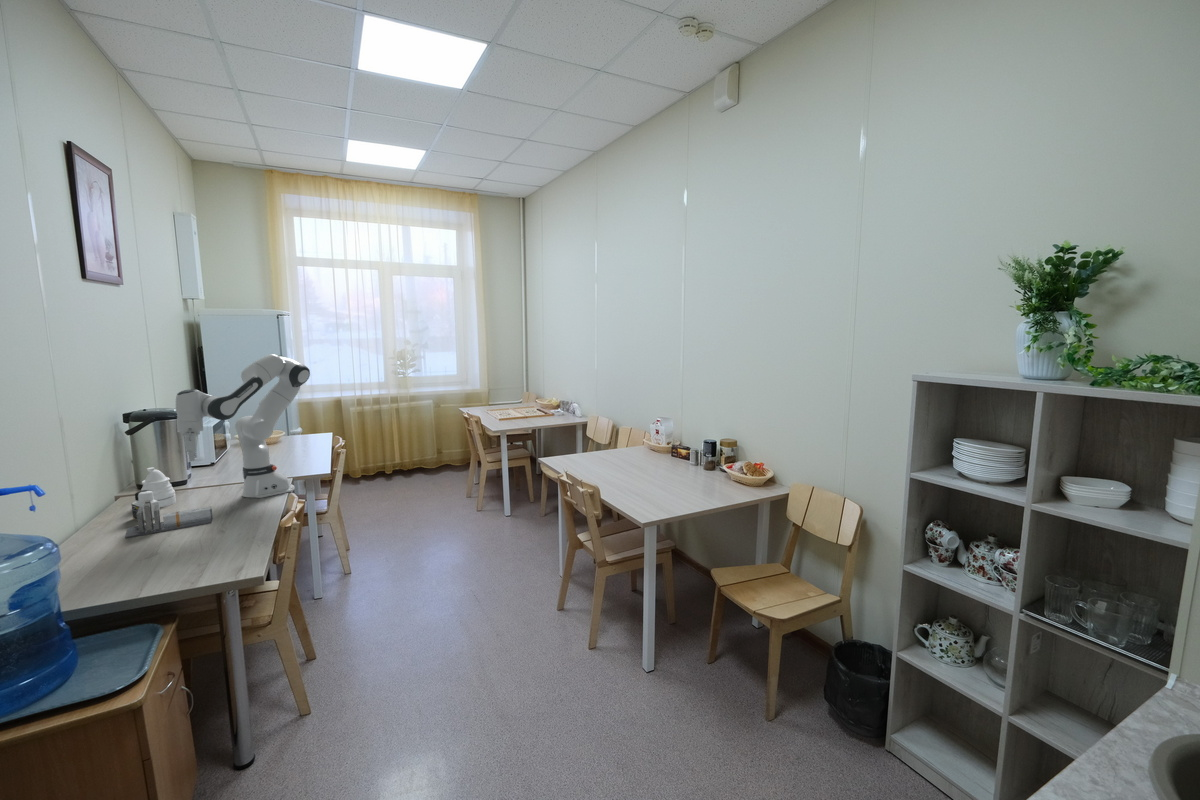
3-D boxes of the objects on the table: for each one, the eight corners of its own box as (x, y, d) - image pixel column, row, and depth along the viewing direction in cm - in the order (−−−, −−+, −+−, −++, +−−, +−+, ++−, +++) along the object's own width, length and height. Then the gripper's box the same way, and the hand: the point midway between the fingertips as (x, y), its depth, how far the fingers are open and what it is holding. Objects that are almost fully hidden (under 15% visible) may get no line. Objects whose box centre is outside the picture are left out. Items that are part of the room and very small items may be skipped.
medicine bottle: (132, 518, 222) (129, 492, 220) (153, 513, 228) (150, 487, 226) (140, 521, 218) (137, 494, 217) (160, 516, 225) (158, 490, 223)
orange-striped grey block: (212, 515, 224) (211, 506, 224) (212, 518, 221) (211, 509, 220) (164, 524, 214) (163, 513, 214) (164, 527, 211) (163, 517, 210)
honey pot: (159, 509, 234) (155, 470, 232) (132, 508, 234) (127, 470, 232) (183, 500, 247) (179, 463, 244) (157, 499, 247) (153, 463, 245)
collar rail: (210, 515, 227) (208, 490, 225) (211, 522, 218) (209, 497, 216) (128, 529, 210) (125, 502, 209) (125, 538, 201) (122, 510, 199)
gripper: (199, 430, 215) (201, 462, 216) (199, 423, 231) (201, 453, 232) (179, 431, 211) (182, 464, 212) (181, 424, 227) (183, 455, 228)
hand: (192, 458), depth 222 cm, fingers open, 8 cm apart
